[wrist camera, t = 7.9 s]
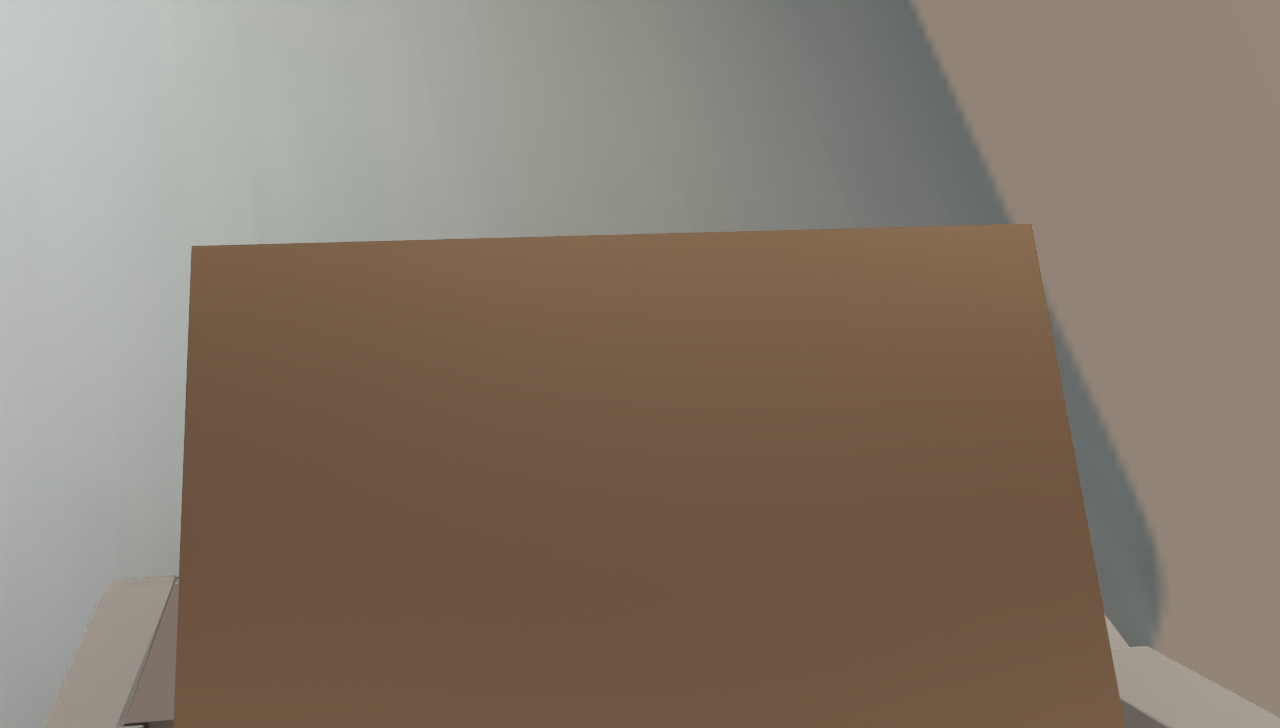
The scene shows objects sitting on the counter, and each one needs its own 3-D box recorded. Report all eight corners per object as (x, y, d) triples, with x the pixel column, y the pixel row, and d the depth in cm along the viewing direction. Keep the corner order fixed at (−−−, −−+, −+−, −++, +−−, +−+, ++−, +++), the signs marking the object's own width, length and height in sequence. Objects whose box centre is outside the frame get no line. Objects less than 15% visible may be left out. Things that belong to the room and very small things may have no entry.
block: (767, 865, 14) (1203, 1152, 5) (387, 904, 13) (149, 1301, 4) (730, 498, 15) (1031, 224, 6) (383, 518, 14) (192, 245, 6)
